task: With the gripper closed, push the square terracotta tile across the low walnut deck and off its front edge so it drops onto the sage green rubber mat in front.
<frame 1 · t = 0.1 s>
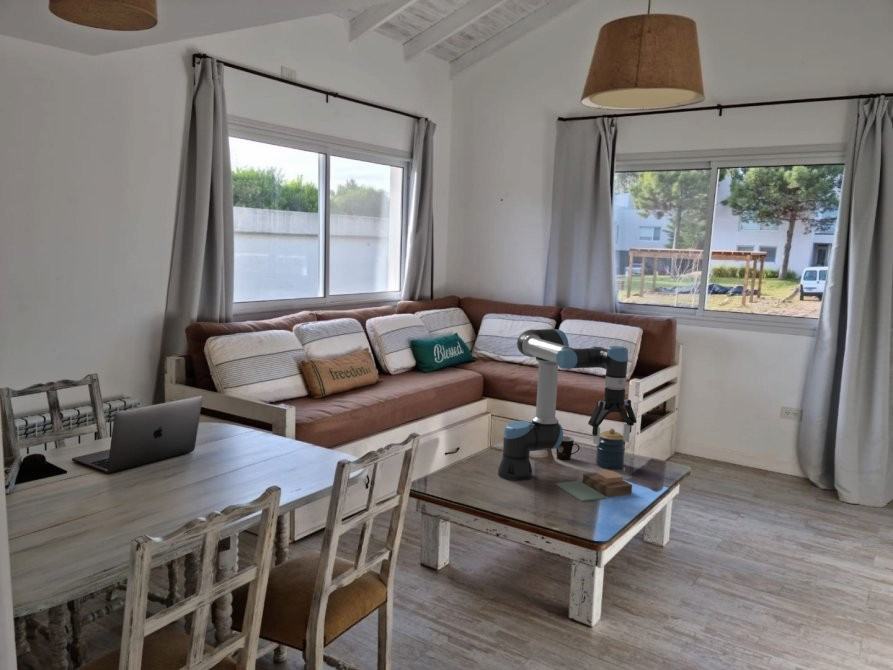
hand: (611, 442, 261), 28 cm above the table, fingers open, 13 cm apart
coffee mug: (565, 459, 329), on the table
canister: (609, 465, 323), on the table
terracotta tile: (609, 478, 292), point 4 cm above the table, touching walnut deck
sage mat: (580, 491, 287), on the table
walnut deck: (606, 488, 292), on the table
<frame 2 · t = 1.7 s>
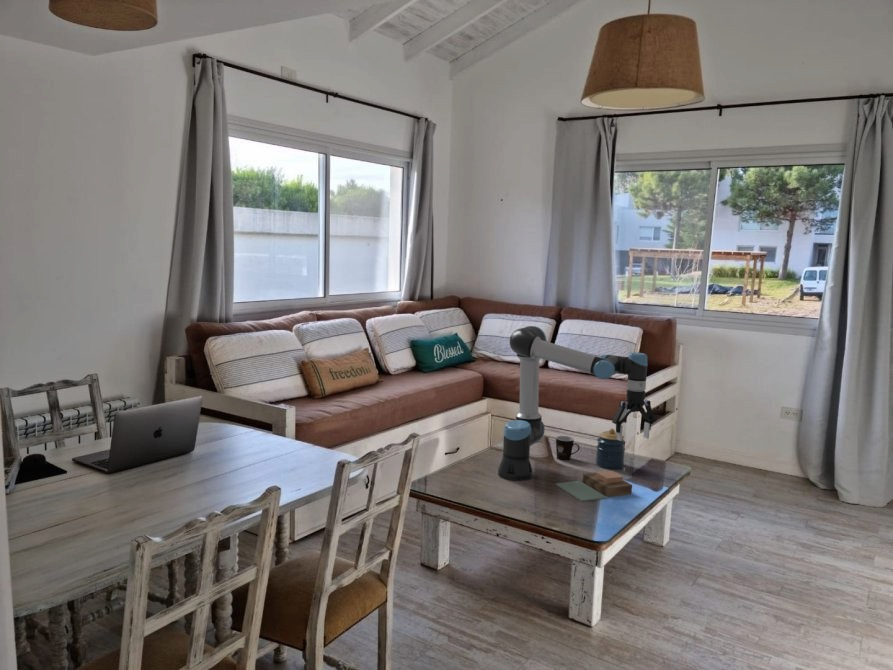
hand: (632, 439, 291), 21 cm above the table, fingers open, 13 cm apart
nothing on the table moved.
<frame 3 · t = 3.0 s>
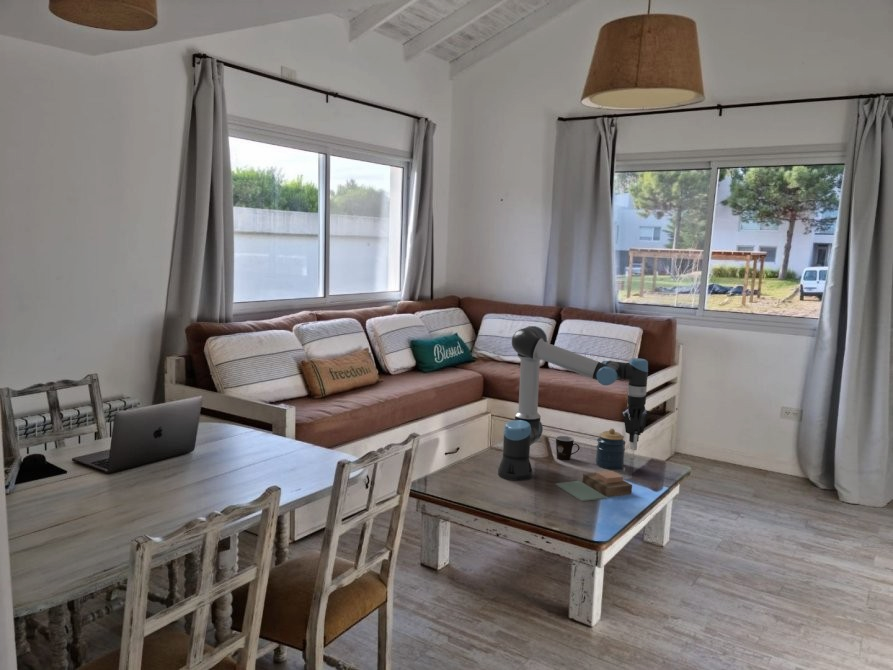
hand: (633, 449, 294), 16 cm above the table, fingers closed
nothing on the table moved.
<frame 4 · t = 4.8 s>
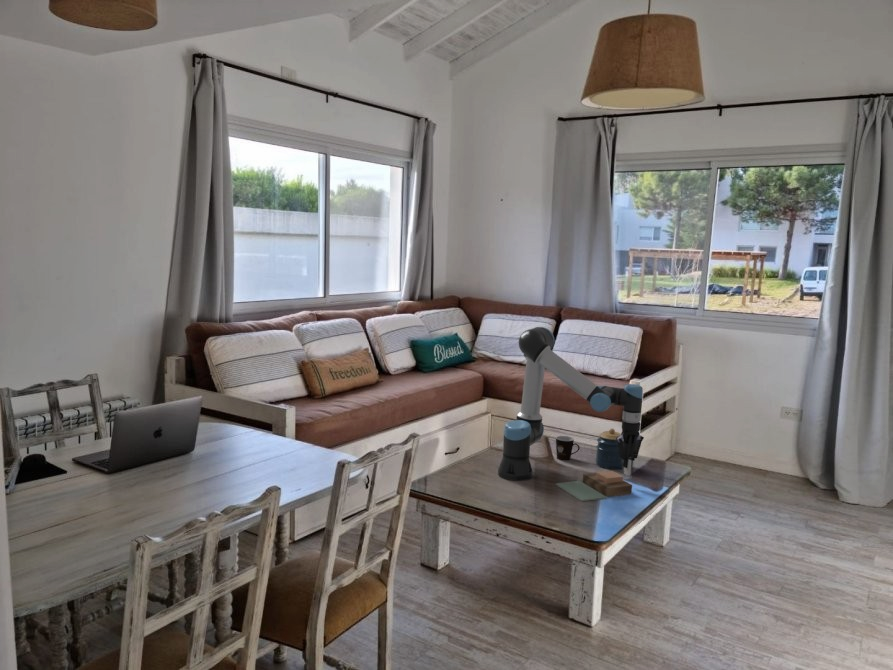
hand: (627, 474, 295), 5 cm above the table, fingers closed
nothing on the table moved.
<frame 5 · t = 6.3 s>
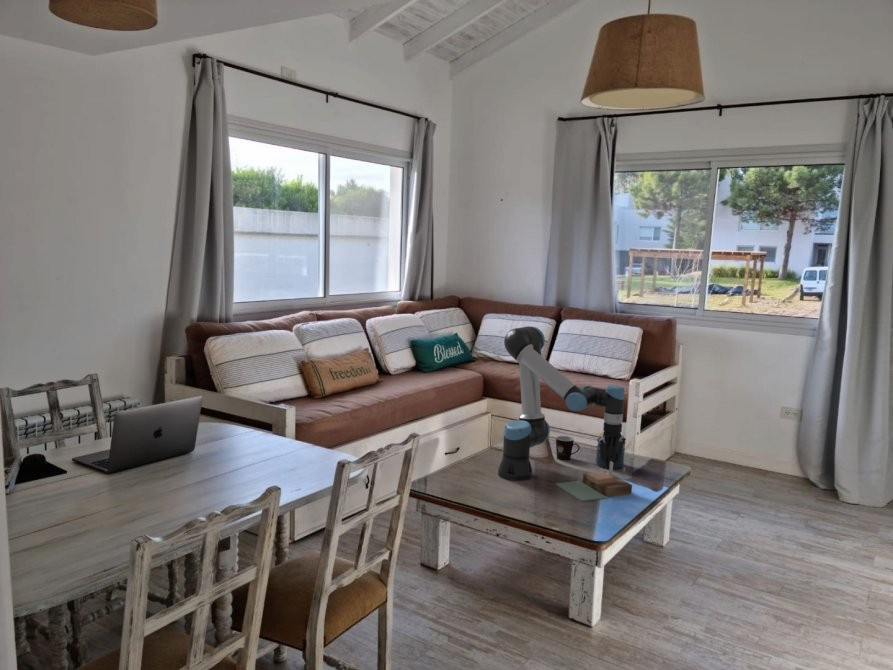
hand: (608, 476, 292), 5 cm above the table, fingers closed
terracotta tile: (599, 480, 290), point 4 cm above the table, touching walnut deck
everything else where it was.
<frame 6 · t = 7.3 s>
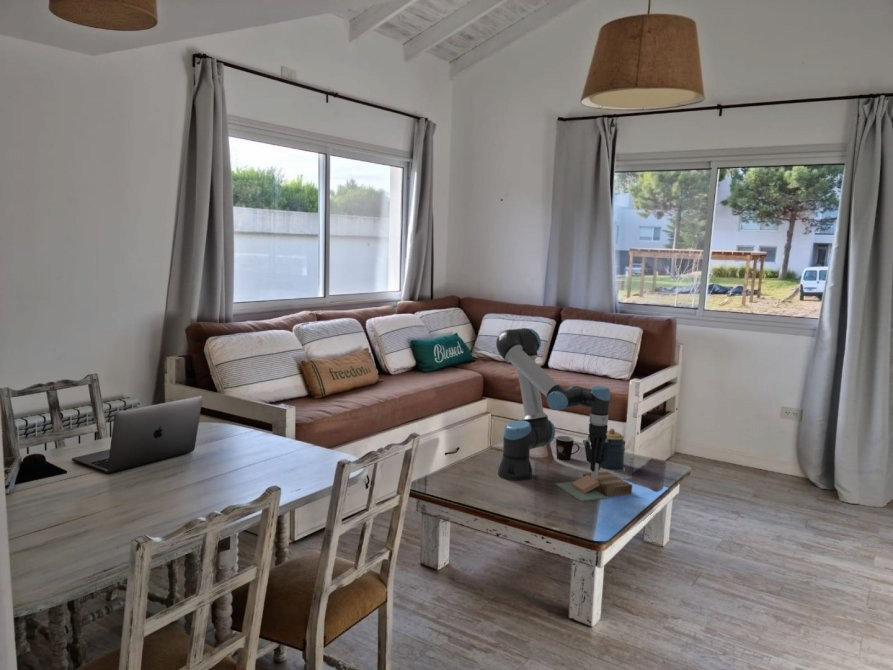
hand: (594, 478, 289), 5 cm above the table, fingers closed
terracotta tile: (586, 486, 288), point 2 cm above the table, tilted 20°
everything else where it was.
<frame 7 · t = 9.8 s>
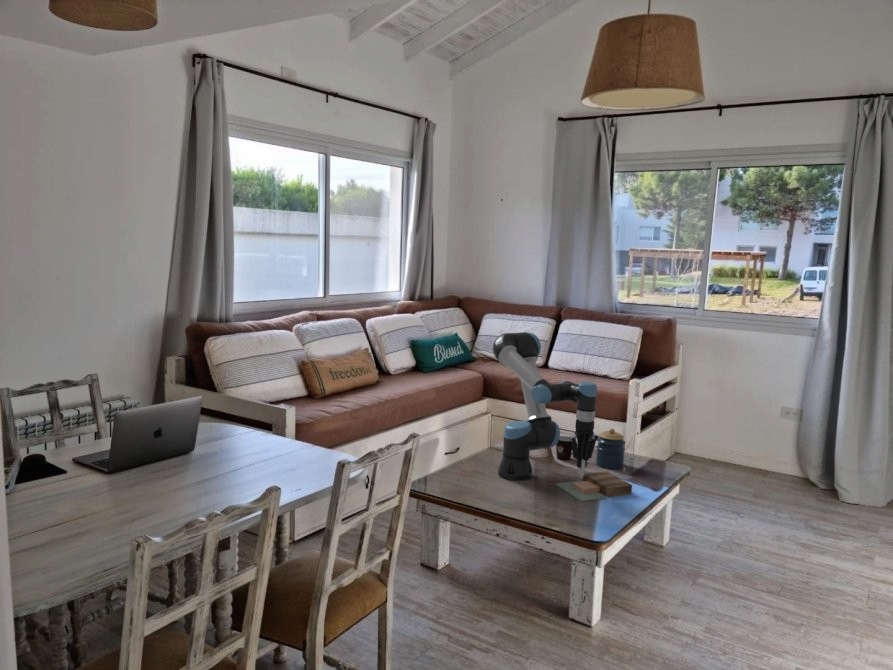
hand: (580, 474, 286), 7 cm above the table, fingers closed
terracotta tile: (585, 489, 288), point 1 cm above the table, touching sage mat
everything else where it was.
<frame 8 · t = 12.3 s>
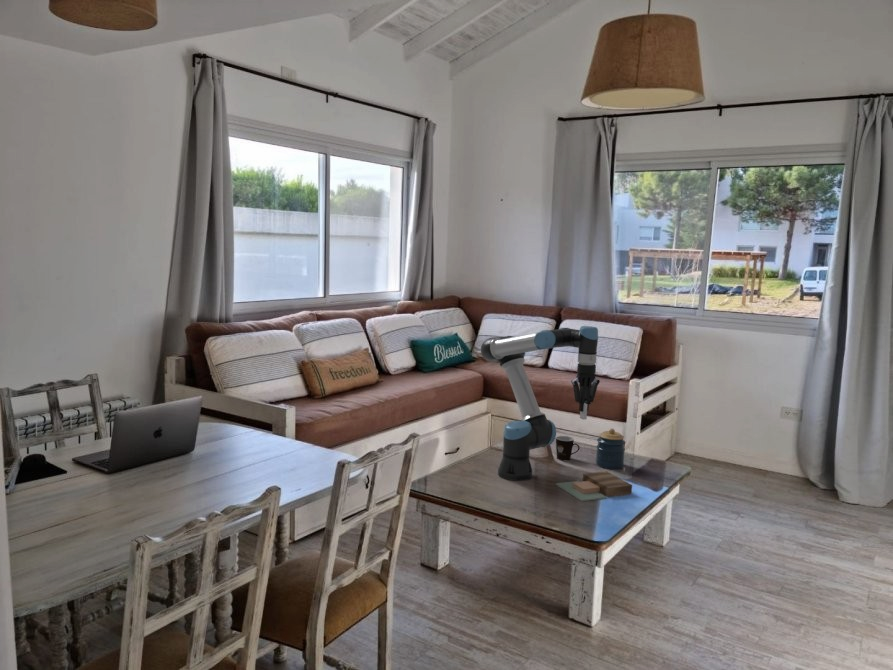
hand: (583, 418, 290), 29 cm above the table, fingers closed
nothing on the table moved.
at the end: terracotta tile inside the target area (2.8 cm from its centre), point 0.6 cm above the table; terracotta tile touching sage mat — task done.
